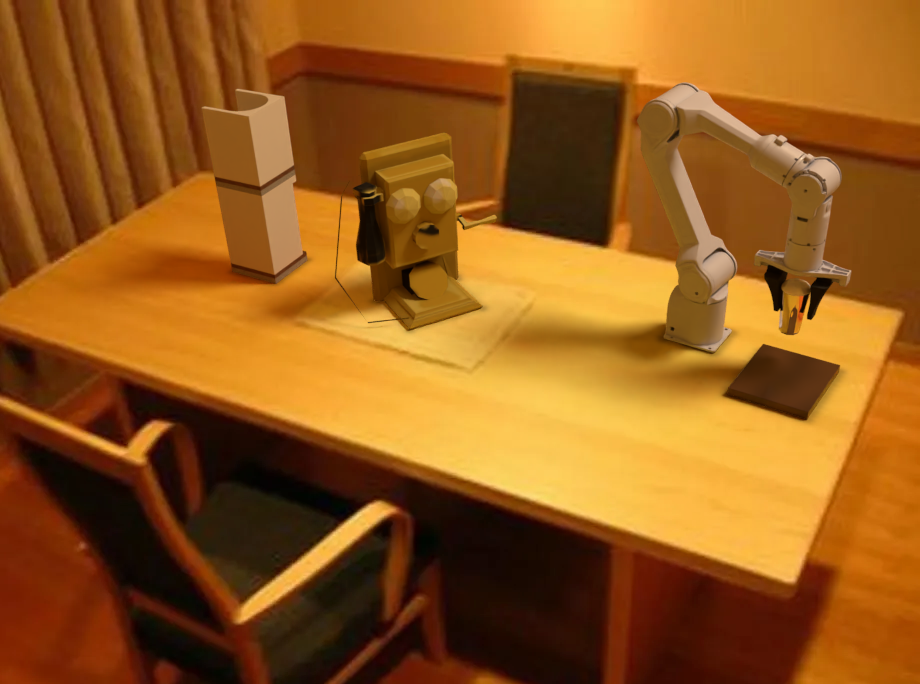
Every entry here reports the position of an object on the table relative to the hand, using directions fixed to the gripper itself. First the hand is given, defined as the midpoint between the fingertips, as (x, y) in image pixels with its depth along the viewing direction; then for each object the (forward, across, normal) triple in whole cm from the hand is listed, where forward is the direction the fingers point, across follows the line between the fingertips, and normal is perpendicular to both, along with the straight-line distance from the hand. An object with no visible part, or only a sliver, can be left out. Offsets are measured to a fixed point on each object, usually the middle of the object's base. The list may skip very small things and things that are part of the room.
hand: (794, 312), depth 174 cm
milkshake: (+4, 0, 0) cm, 4 cm away
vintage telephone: (+10, +65, +13) cm, 67 cm away
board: (+10, -1, +5) cm, 12 cm away
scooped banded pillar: (+10, +102, +16) cm, 103 cm away
